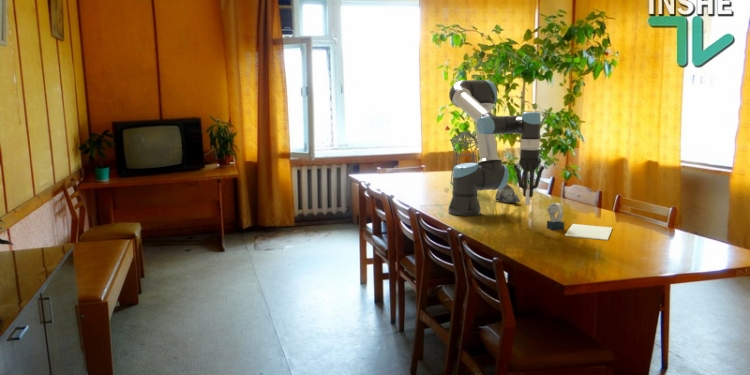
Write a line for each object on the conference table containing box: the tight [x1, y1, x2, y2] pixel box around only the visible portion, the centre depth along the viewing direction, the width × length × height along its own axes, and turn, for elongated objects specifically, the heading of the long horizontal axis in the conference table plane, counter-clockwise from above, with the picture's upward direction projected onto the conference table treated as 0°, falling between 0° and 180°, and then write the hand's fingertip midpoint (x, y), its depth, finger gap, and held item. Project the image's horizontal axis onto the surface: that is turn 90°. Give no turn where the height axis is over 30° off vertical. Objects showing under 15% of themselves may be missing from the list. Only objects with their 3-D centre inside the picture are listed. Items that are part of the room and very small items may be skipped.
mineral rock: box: [494, 183, 521, 204], centre depth 300 cm, size 13×11×10 cm
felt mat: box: [564, 223, 613, 241], centre depth 237 cm, size 16×22×1 cm
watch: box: [546, 202, 565, 231], centre depth 242 cm, size 6×8×11 cm
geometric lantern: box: [449, 131, 478, 187], centre depth 328 cm, size 16×16×35 cm
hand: (527, 204), depth 247 cm, fingers closed
